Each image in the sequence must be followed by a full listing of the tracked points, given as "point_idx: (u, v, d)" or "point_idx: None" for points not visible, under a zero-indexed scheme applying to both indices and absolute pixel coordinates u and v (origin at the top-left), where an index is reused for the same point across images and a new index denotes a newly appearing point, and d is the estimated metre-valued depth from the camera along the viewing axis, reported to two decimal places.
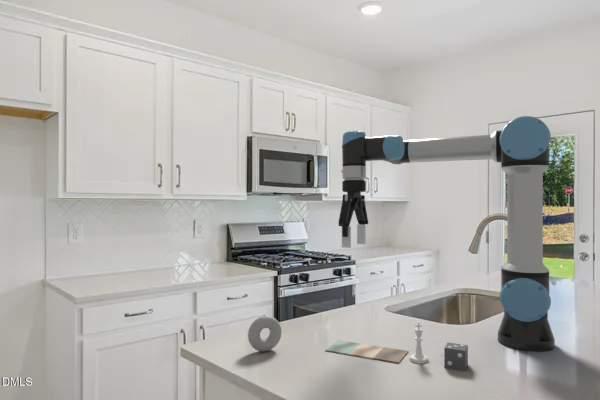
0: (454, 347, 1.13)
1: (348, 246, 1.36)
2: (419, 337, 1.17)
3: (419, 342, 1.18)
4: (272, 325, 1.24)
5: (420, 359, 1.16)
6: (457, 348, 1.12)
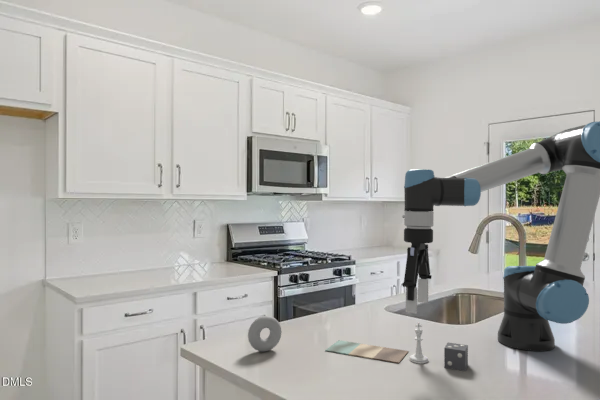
0: (454, 347, 1.13)
1: (414, 312, 1.11)
2: (419, 337, 1.17)
3: (419, 342, 1.18)
4: (272, 325, 1.24)
5: (420, 359, 1.16)
6: (457, 348, 1.12)
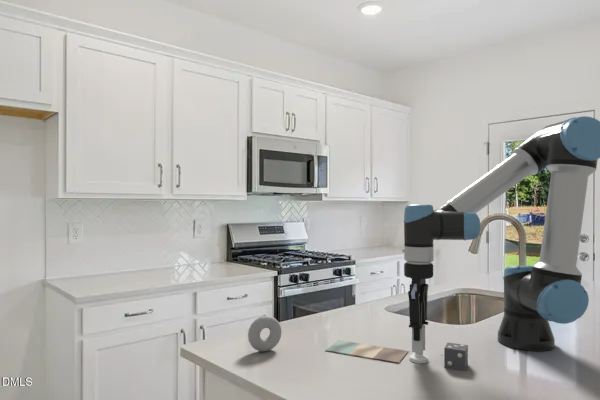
0: (454, 347, 1.13)
1: (420, 351, 1.16)
2: None
3: None
4: (272, 325, 1.24)
5: (420, 359, 1.16)
6: (457, 348, 1.12)
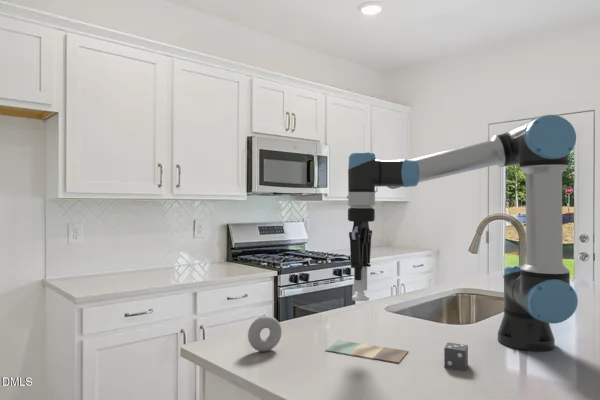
0: (454, 347, 1.13)
1: (361, 290, 1.23)
2: None
3: None
4: (272, 325, 1.24)
5: (361, 297, 1.23)
6: (457, 348, 1.12)
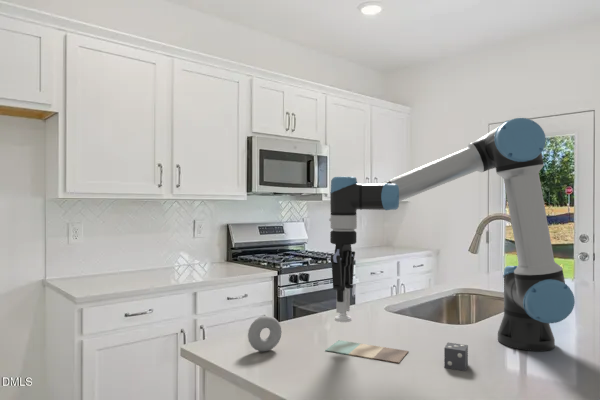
0: (454, 347, 1.13)
1: (343, 312, 1.26)
2: None
3: None
4: (272, 325, 1.24)
5: (343, 318, 1.26)
6: (457, 348, 1.12)
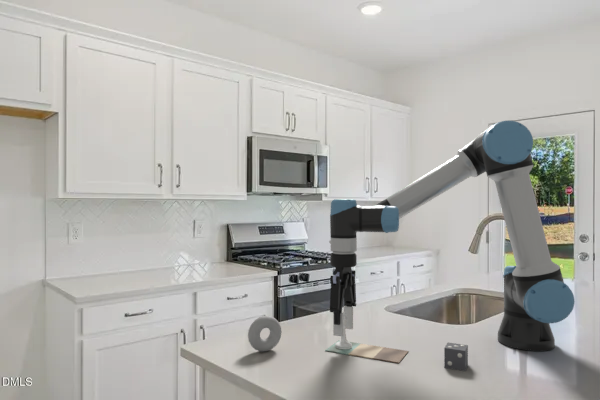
0: (454, 347, 1.13)
1: (340, 335, 1.24)
2: (344, 325, 1.27)
3: (344, 330, 1.27)
4: (272, 325, 1.24)
5: (344, 345, 1.26)
6: (457, 348, 1.12)
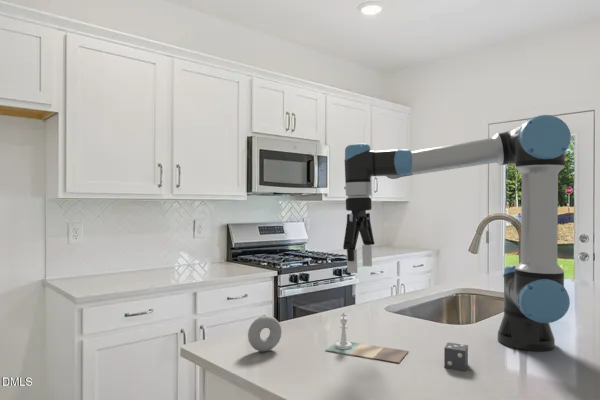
0: (454, 347, 1.13)
1: (354, 271, 1.24)
2: (344, 325, 1.27)
3: (344, 330, 1.27)
4: (272, 325, 1.24)
5: (344, 345, 1.26)
6: (457, 348, 1.12)
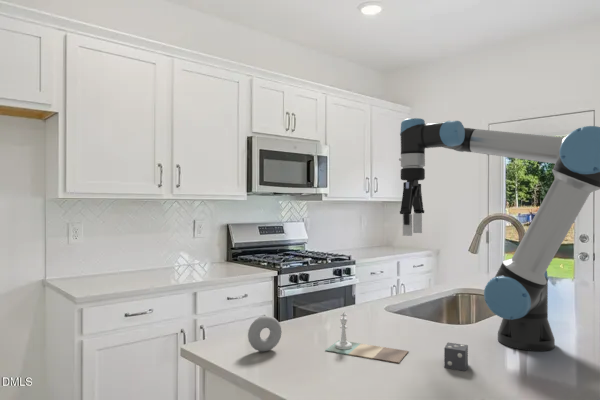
0: (454, 347, 1.13)
1: (409, 234, 1.35)
2: (344, 325, 1.27)
3: (344, 330, 1.27)
4: (272, 325, 1.24)
5: (344, 345, 1.26)
6: (457, 348, 1.12)
